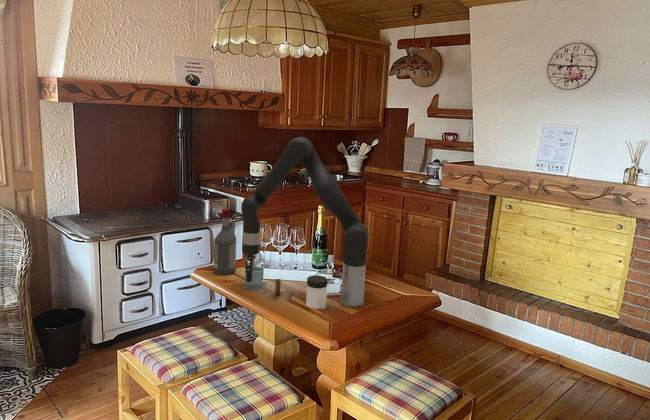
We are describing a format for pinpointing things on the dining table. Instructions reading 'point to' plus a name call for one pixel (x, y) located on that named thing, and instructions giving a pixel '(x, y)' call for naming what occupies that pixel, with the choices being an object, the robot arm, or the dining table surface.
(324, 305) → the jar
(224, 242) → the liquor
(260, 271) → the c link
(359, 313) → the dining table surface
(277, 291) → the post stand
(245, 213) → the robot arm
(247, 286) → the trivet
